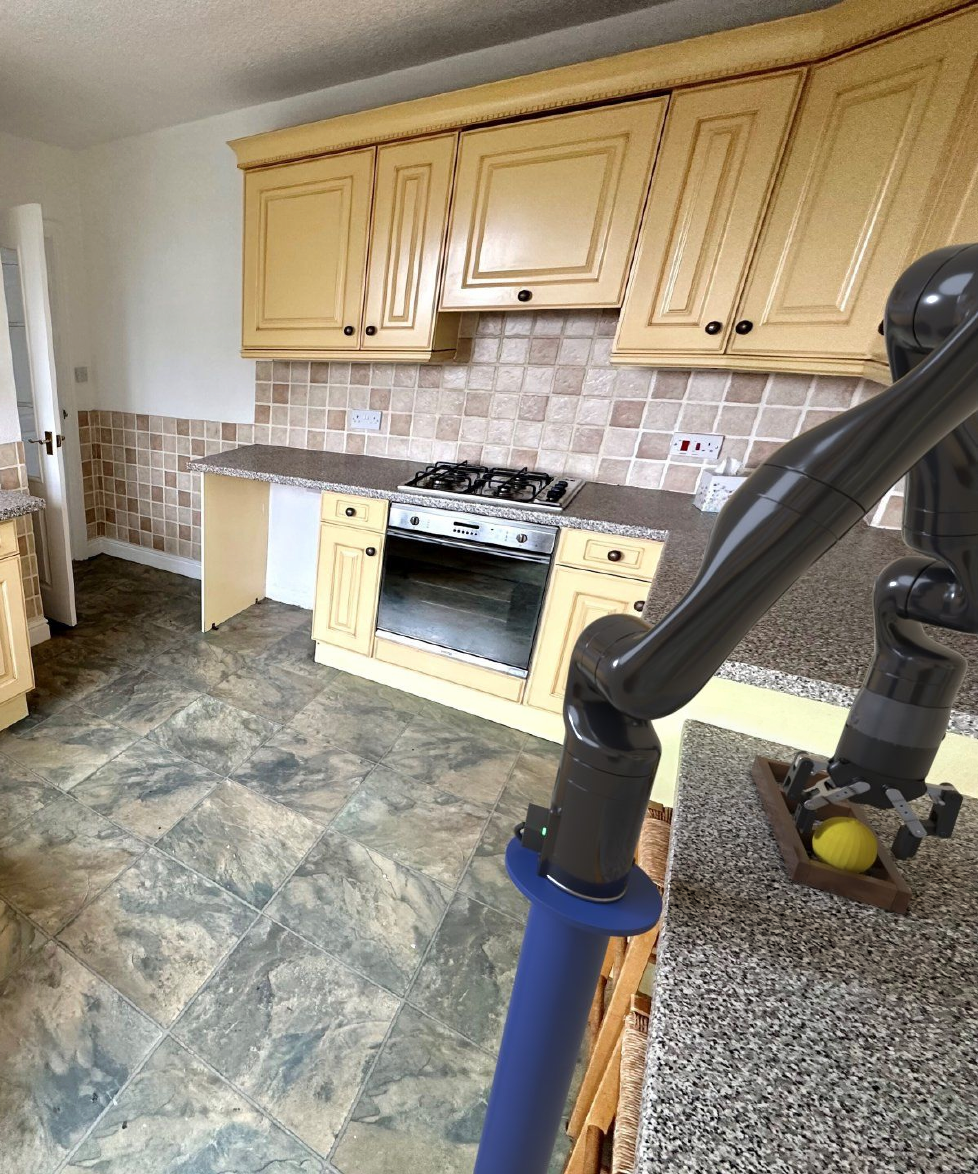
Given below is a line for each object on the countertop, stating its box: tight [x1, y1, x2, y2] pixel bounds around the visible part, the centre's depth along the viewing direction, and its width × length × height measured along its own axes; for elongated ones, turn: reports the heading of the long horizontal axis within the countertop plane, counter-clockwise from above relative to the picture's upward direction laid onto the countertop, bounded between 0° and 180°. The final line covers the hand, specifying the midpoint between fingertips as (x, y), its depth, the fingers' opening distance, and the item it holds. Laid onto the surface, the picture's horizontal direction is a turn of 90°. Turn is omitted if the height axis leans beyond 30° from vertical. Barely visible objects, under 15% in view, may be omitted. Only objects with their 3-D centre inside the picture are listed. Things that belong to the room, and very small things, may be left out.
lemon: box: [812, 817, 878, 874], centre depth 78 cm, size 6×6×8 cm
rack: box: [750, 754, 914, 915], centre depth 86 cm, size 10×27×3 cm, turn 148°
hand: (848, 843), depth 78 cm, fingers open, 8 cm apart
